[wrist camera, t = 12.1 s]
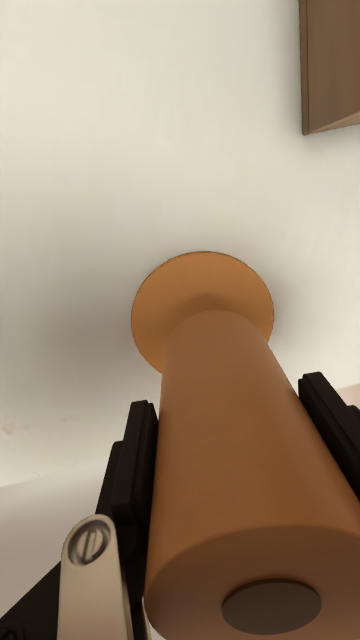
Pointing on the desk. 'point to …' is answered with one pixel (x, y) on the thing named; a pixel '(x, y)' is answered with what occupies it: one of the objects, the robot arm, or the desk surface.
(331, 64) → the cabinet
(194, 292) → the coaster
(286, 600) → the paper roll
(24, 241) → the desk surface
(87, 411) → the desk surface
